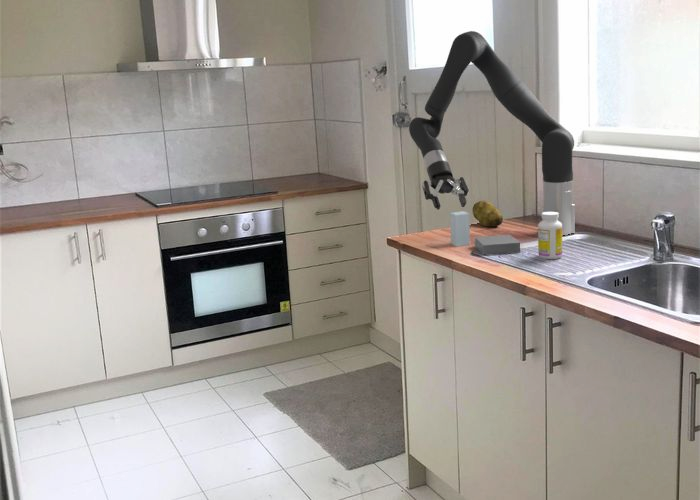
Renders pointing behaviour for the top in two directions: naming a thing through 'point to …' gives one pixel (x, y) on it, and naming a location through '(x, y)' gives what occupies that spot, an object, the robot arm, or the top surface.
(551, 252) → the supplement bottle
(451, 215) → the block
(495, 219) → the potato
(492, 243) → the block
